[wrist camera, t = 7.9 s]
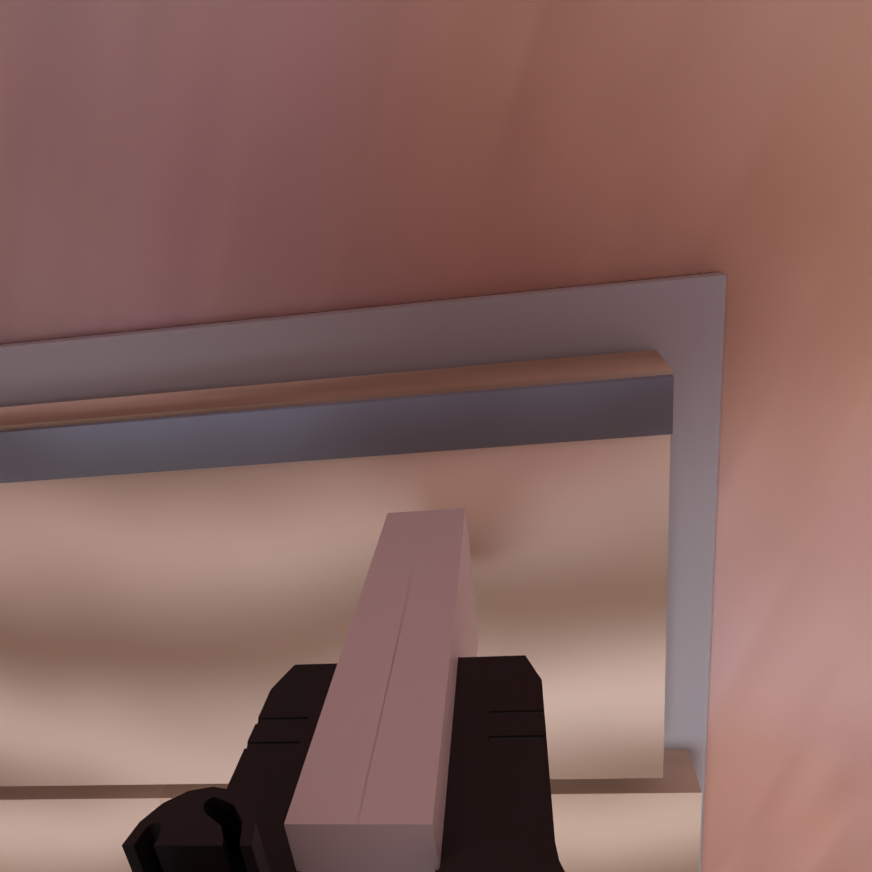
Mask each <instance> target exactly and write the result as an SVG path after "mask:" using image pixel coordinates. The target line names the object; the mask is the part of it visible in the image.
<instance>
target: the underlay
mask: <svg viewBox="0 0 872 872" xmlns="http://www.w3.org/2000/svg"><path fill="white" fill-rule="evenodd" d="M726 281H727V275H726V274H724V273H722V272H716V273H707V274H697V275H687V276H677V277H667V278H657V279H647V280H637V281H627V282H617V283H607V284H597V285H587V286H577V287H567V288H557V289H547V290H537V291H527V292H518V293H508V294H498V295H488V296H478V297H468V298H458V299H448V300H438V301H428V302H418V303H408V304H398V305H388V306H378V307H368V308H358V309H348V310H339V311H329V312H319V313H309V314H299V315H289V316H279V317H269V318H259V319H249V320H239V321H229V322H219V323H209V324H199V325H189V326H179V327H169V328H159V329H150V330H140V331H130V332H120V333H110V334H100V335H90V336H80V337H70V338H60V339H50V340H40V341H30V342H20V343H10V344H0V407H9V406H21V405H32V404H44V403H55V402H66V401H78V400H89V399H100V398H112V397H123V396H134V395H146V394H157V393H168V392H180V391H191V390H202V389H214V388H225V387H237V386H248V385H259V384H271V383H282V382H293V381H305V380H316V379H327V378H339V377H350V376H361V375H373V374H384V373H395V372H407V371H418V370H430V369H441V368H452V367H464V366H475V365H486V364H498V363H509V362H520V361H532V360H543V359H554V358H566V357H577V356H588V355H600V354H611V353H623V352H634V351H645V350H657V352H658V353H659V354H660V355H661V357H662V358H663V359H664V360H665V361H666V363H667V364H668V365H669V366H670V368H671V369H672V375H673V376H674V394H673V434H671V436H670V482H669V528H668V574H667V620H666V666H665V712H664V750H671V749H688V752H689V755H690V758H691V761H692V764H693V767H694V770H695V773H696V776H697V779H698V782H699V785H700V788H701V791H702V807H701V831H700V855H699V872H701V858H702V835H703V812H704V789H705V766H706V743H707V720H708V697H709V673H710V650H711V627H712V604H713V581H714V558H715V535H716V512H717V489H718V465H719V442H720V419H721V396H722V373H723V350H724V327H725V304H726Z"/></svg>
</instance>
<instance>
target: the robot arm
mask: <svg viewBox="0 0 872 872" xmlns="http://www.w3.org/2000/svg"><path fill="white" fill-rule="evenodd" d="M477 646H478V619H477V610H476V601H475V592H474V582H473V573H472V564H471V555H470V546H469V537H468V528H467V519H466V509H465V508H461V509H444V510H427V511H410V512H393V513H387V516H386V519H385V522H384V525H383V528H382V531H381V534H380V537H379V540H378V543H377V546H376V549H375V552H374V555H373V558H372V561H371V564H370V567H369V570H368V573H367V576H366V579H365V582H364V585H363V588H362V591H361V594H360V597H359V600H358V603H357V606H356V609H355V612H354V615H353V618H352V621H351V624H350V627H349V630H348V633H347V636H346V639H345V642H344V645H343V648H342V651H341V654H340V657H339V660H338V663H334V664H301V665H294V666H293V667H292V668H291V669H290V670H289V671H288V672H287V673H286V674H285V675H284V676H283V677H282V678H281V679H280V680H279V681H278V682H277V683H276V684H275V686H274V687H273V688H272V689H271V690H270V692H269V694H268V697H267V699H266V701H265V703H264V706H263V708H262V710H261V712H260V715H259V717H258V724H255V726H254V728H253V730H252V733H251V735H250V737H249V739H248V742H247V748H244V751H243V753H242V755H241V757H240V759H239V762H238V764H237V766H236V768H235V771H234V773H233V775H232V777H231V780H230V782H229V784H228V786H227V789H224V788H218V787H208V788H202V789H196V790H191V791H187V792H185V793H183V794H181V795H179V796H177V797H175V798H172V799H170V800H168V801H166V802H164V803H162V804H161V805H160V806H159V807H157V808H156V809H155V810H154V811H152V812H151V813H150V814H149V815H147V816H146V817H145V818H144V819H142V820H141V821H140V822H139V823H138V825H137V826H136V827H135V828H134V830H133V831H132V832H131V834H130V835H129V836H128V838H127V839H126V840H125V842H124V843H123V844H122V847H123V850H124V852H125V855H126V857H127V860H128V862H129V865H130V868H131V870H132V872H565V871H564V869H563V867H562V865H561V863H560V861H559V857H558V853H557V848H556V844H555V834H554V822H553V810H552V798H551V786H550V774H549V762H548V749H547V738H546V725H545V713H544V701H543V689H542V680H541V678H540V676H539V675H538V673H537V672H536V670H535V669H534V667H533V666H532V664H531V663H530V661H529V660H528V658H527V657H526V655H519V656H487V657H477Z"/></svg>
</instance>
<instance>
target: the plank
mask: <svg viewBox="0 0 872 872" xmlns="http://www.w3.org/2000/svg"><path fill="white" fill-rule="evenodd" d="M673 394H674V376H673V375H672V369H671V368H670V366H669V365H668V364H667V363H666V361H665V360H664V359H663V358H662V357H661V355H660V354H659V353H658V352H657V350H645V351H634V352H623V353H611V354H600V355H588V356H577V357H566V358H554V359H543V360H532V361H520V362H509V363H498V364H486V365H475V366H464V367H452V368H441V369H430V370H418V371H407V372H395V373H384V374H373V375H361V376H350V377H339V378H327V379H316V380H305V381H293V382H282V383H271V384H259V385H248V386H237V387H225V388H214V389H202V390H191V391H180V392H168V393H157V394H146V395H134V396H123V397H112V398H100V399H89V400H78V401H66V402H55V403H44V404H32V405H21V406H9V407H0V786H76V785H155V784H229V782H230V780H231V777H232V775H233V773H234V771H235V768H236V766H237V764H238V762H239V759H240V757H241V755H242V753H243V751H244V748H247V742H248V739H249V737H250V735H251V733H252V730H253V728H254V726H255V724H258V717H259V715H260V712H261V710H262V708H263V706H264V703H265V701H266V699H267V697H268V694H269V692H270V690H271V689H272V688H273V687H274V686H275V684H276V683H277V682H278V681H279V680H280V679H281V678H282V677H283V676H284V675H285V674H286V673H287V672H288V671H289V670H290V669H291V668H292V667H293V666H294V665H301V664H334V663H338V660H339V657H340V654H341V651H342V648H343V645H344V642H345V639H346V636H347V633H348V630H349V627H350V624H351V621H352V618H353V615H354V612H355V609H356V606H357V603H358V600H359V597H360V594H361V591H362V588H363V585H364V582H365V579H366V576H367V573H368V570H369V567H370V564H371V561H372V558H373V555H374V552H375V549H376V546H377V543H378V540H379V537H380V534H381V531H382V528H383V525H384V522H385V519H386V516H387V513H393V512H410V511H427V510H444V509H461V508H465V509H466V519H467V528H468V537H469V546H470V555H471V564H472V573H473V582H474V592H475V601H476V610H477V619H478V646H477V657H487V656H519V655H526V657H527V658H528V660H529V661H530V663H531V664H532V666H533V667H534V669H535V670H536V672H537V673H538V675H539V676H540V678H541V680H542V689H543V701H544V713H545V725H546V738H547V749H548V762H549V774H550V779H623V778H663V758H664V712H665V666H666V620H667V574H668V528H669V482H670V436H671V434H673Z"/></svg>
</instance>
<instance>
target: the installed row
mask: <svg viewBox="0 0 872 872" xmlns="http://www.w3.org/2000/svg"><path fill="white" fill-rule="evenodd" d="M227 786H228V784H155V785H76V786H0V872H132V870H131V868H130V865H129V862H128V860H127V857H126V855H125V852H124V850H123V847H122V844H123V843H124V842H125V840H126V839H127V838H128V836H129V835H130V834H131V832H132V831H133V830H134V828H135V827H136V826H137V825H138V823H139V822H140V821H141V820H142V819H144V818H145V817H146V816H147V815H149V814H150V813H151V812H152V811H154V810H155V809H156V808H157V807H159V806H160V805H161V804H162V803H164V802H166V801H168V800H170V799H172V798H175V797H177V796H179V795H181V794H183V793H185V792H187V791H191V790H196V789H202V788H208V787H218V788H224V789H227ZM550 786H551V798H552V810H553V822H554V834H555V844H556V848H557V853H558V857H559V861H560V863H561V865H562V867H563V869H564V871H565V872H699V855H700V831H701V807H702V791H701V788H700V785H699V782H698V779H697V776H696V773H695V770H694V767H693V764H692V761H691V758H690V755H689V752H688V749H671V750H664V758H663V778H623V779H550Z"/></svg>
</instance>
